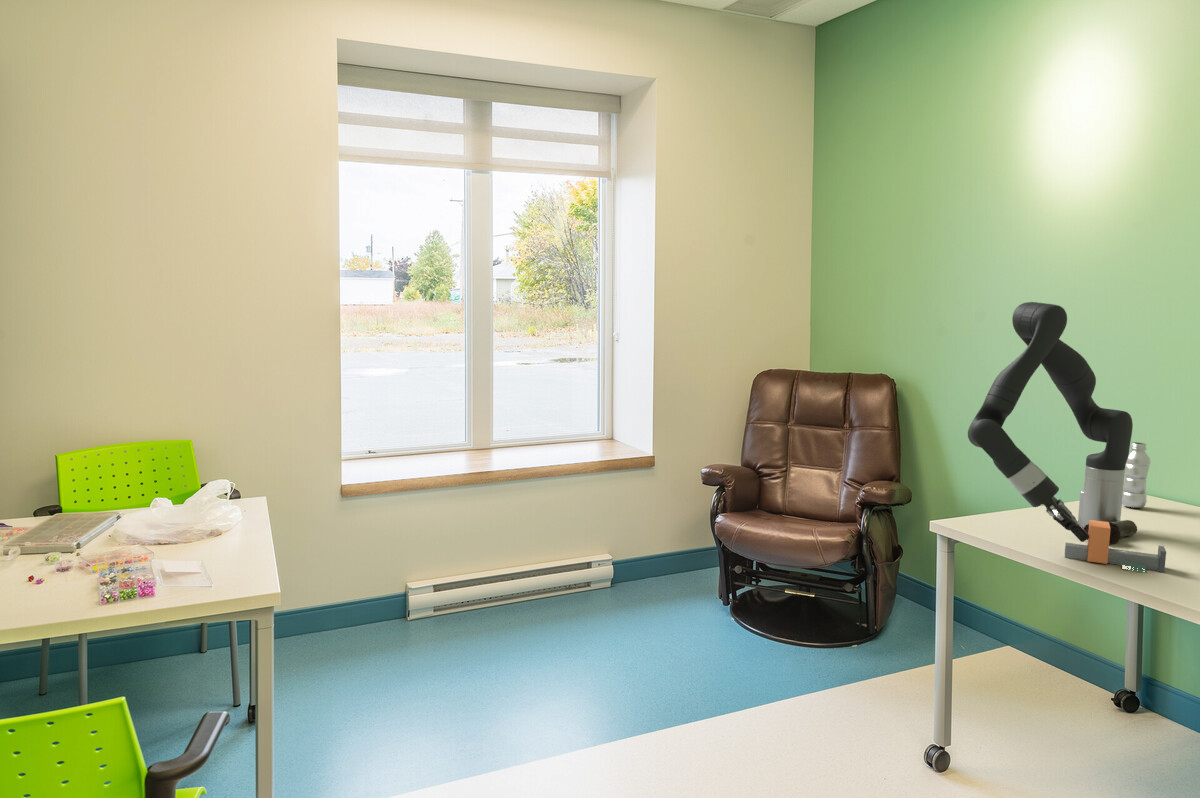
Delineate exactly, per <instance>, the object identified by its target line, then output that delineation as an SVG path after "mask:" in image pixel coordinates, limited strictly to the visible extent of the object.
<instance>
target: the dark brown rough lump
mask: <svg viewBox="0 0 1200 798" xmlns="http://www.w3.org/2000/svg"><path fill="white" fill-rule="evenodd" d="M1109 525H1110V528H1111V529H1110V541H1109V545H1113V544H1117V543H1119V542H1120V540H1121V537H1130V536H1134V535H1135V534H1136V533H1137V531H1138V527H1137V524H1136V523H1135V522H1134V521H1133V520H1130V519H1125V520H1120V521H1116V522H1109ZM1082 528H1083V527H1082ZM1083 529H1084V530H1085V531H1086V532H1087V534H1088V532H1089V524H1088V525H1085V527H1084V528H1083ZM1086 541H1088V539H1087V540H1086Z"/></svg>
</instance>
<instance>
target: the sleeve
mask: <svg viewBox="0 0 1200 798" xmlns="http://www.w3.org/2000/svg"><path fill="white" fill-rule="evenodd" d="M1110 529H1111V528H1110V525H1109V522H1103V521H1095V520H1090V521H1089V532H1088V535H1089V539H1088V540H1087V544H1086V545H1088V547H1089V548H1088V561H1087V562H1089V563H1090V562H1091V563H1098V564H1105V565H1108V564H1107V563H1108V552H1109V548H1110V544H1109V541H1110Z"/></svg>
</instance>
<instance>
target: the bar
mask: <svg viewBox="0 0 1200 798" xmlns="http://www.w3.org/2000/svg"><path fill="white" fill-rule="evenodd" d="M1157 546H1158V548H1157V549H1158V550H1157V554H1155V553H1146V552H1138V551H1132V550H1124V549H1117V548H1110V547H1109V552H1108V563H1110V564H1109V565H1114V564H1117V566H1120V565H1125V566H1131V569H1130V570H1131V572H1135V571H1137V570H1138V572H1137V573H1142V572H1143V571H1145V573H1144V574H1148V571H1147V570H1150V569H1152V571H1157V570H1159V571H1158V572H1159V573H1163V572H1164V573H1165V568H1166V559H1167V557H1166V556H1167V550H1166V548H1165V545H1157ZM1088 548H1089V547H1088V545H1087V544H1081V543H1080V544H1079V543H1073V542H1065V546H1064V558H1067V559H1071V560H1072V559H1074V560H1080V561H1086V560H1087V562H1089V561H1088ZM1133 567H1134V568H1133ZM1127 568H1128V567H1127ZM1132 568H1133V569H1134V570H1133V569H1132ZM1137 568H1138V569H1137ZM1142 568H1143V569H1145V570H1143V569H1142ZM1128 569H1129V568H1128ZM1128 569H1127V570H1126V571H1128ZM1132 570H1133V571H1132ZM1140 571H1141V572H1140Z"/></svg>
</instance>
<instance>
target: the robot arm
mask: <svg viewBox="0 0 1200 798" xmlns="http://www.w3.org/2000/svg"><path fill="white" fill-rule="evenodd" d="M1011 319H1012V326H1013V329H1014V331H1015V333H1016V334H1017V335H1018V337H1019V338H1020V340H1022V341H1023V342H1024V344H1025V345H1026V348H1025V349H1024V350H1023V352H1022V353H1021V354H1019V356H1018V357H1016V358H1015V359H1014V360H1013V361H1012V362H1011V363H1009V364H1008V365H1007V366H1006V367H1004V369H1002V370H1001V371H1000V372H999V373H998V375H997V376H996V377H995V379H994V380H993V382H992V384H991V386H990V387H989V390H988V392H987V393H986V394H987V395H986V396H985V399H984V401H983V403H982V405H981V406H980V408H979V410H978V412H977V413H976V415H975V416H974V417H973V419H972V420H971V421H972V422H971V423H970V425H969V427H968V429H967V438H968V440H969V442H970V443H971V444H972V446H975V447H977V448H981V449H982V450H983V451H984V452H985V453H986V454H987V455H988V456H989V457H990V459H992V462H993V465H994V466H995V467H996V468H997V469H998V470H999V472H1001V473H1002V474H1003V476H1004V477H1005V478H1006V479H1007V480H1008V481H1009V483H1010V484H1011V486H1013V488H1014V489H1015V490H1016V491H1017V492H1018V493H1019V494H1020V495H1021V497H1023V498H1024V499H1025V501H1027V503H1028V504H1029V505H1031V506H1032V507H1033V508H1038V507H1040V506H1041V505H1043V506H1044V507H1045V509H1046V511H1045V512H1046V513H1047V514H1048V515H1049V516H1050V517H1052V519H1053V520H1054V521H1055V522H1057V523H1058V524H1059V525H1060V526H1062V527H1063V528H1064V529H1065V530H1067V531H1069V532H1071V533H1072V534H1073V535H1074V536H1075V537H1076V538H1077V539H1078V540H1079V541H1080V542H1081V543H1084V542H1086V541H1088V540H1087V539H1089V535H1088V534H1087V532H1086V531H1085V530H1084V529H1083V528H1084V527H1085V525H1088V524H1089V521H1090V520H1095V521H1103V522H1116V521H1121V517H1122V508H1123V505H1122V498H1123V488H1124V483H1125V465H1126V462H1127V459H1128V456H1129V453H1130V449H1131V443H1132V440H1131V439H1132V435H1133V426H1134V425H1133V418H1132V416H1131V414H1130V413H1129V412H1128V411H1124V410H1120V409H1119V410H1118V409H1112V408H1103V407H1101V406H1099V405H1097V403H1096V402H1095V400H1094V399H1093V397H1092V396H1093V394H1094V391H1095V389H1096V384H1097V378H1096V375H1095V372H1094V371H1093V369H1092V368H1091V366H1090V365H1089V363H1088V361H1087V360H1086V359H1085V358H1084V356H1082V355H1081V353H1080V352H1078V351H1077V350H1075V349H1074V348H1072V347H1071V346H1070V345H1068V344H1067V343H1065V342H1064V341H1062V340H1061V339H1060V338H1061V336H1062V335H1063V334H1064V331H1065V329H1066V327H1067V324H1068V315H1067V311H1066V309H1065V308H1064V307H1062V306H1061V305H1059V304H1054V303H1043V302H1036V301H1028V302H1023V303H1021V304H1018V306H1017V307H1015V309H1014V311H1013V313H1012V317H1011ZM1041 365H1042V367H1043V368H1044V369H1045V371H1046V373H1047V374H1048V376H1049V377H1050V380H1052V382H1053V384H1054V385H1055V387H1056V388H1057V390H1058V391H1059V392H1060V393H1061V395H1062V397H1063V398H1064V400H1065V402H1066V403H1067V404H1068V406H1069V408H1070V410H1071V411H1072V414H1073V415H1074V418H1075V419H1076V421H1077V424H1078V426H1079V428H1080V430H1081V432H1082V433H1083V435H1084V436H1085V437H1086V438H1087V439H1089V440H1090V441H1091V440H1092V441H1095V442H1100V443H1106V444H1105V448H1104V450H1103V451H1101V452H1096V453H1091V454H1090V453H1089V454H1088V455H1087V456H1086V458H1085V467H1084V468H1085V469H1084V481H1083V490H1081V491H1080V492H1079V493H1080V494H1079V506H1078V517H1077V518H1076V517H1075V516H1074V515H1073V512H1072V511H1071V510H1070V509H1069V508H1068V507H1067V506H1066V504H1065V503H1064V501H1063V500H1062V499H1060V498H1059V499H1057V498H1056V497H1055V496H1056V495H1057V494H1058V493H1059V489H1060V487H1058V485H1057V484H1055V482H1054V481H1053V480H1052V479H1051V478H1050V477H1049V476H1048V475H1047V474H1046V473H1045V472H1044V471H1043V470H1042V469H1041V468H1040V467H1039V466H1038V465H1037V464H1035V463H1034V462H1033V461H1032V460H1031V459H1030V458H1029V457H1028V456H1027V455H1026V454H1025V453H1024V452H1023V451H1022V450H1021V449H1020V448H1019V447H1018V446H1017V445H1016V444H1015V443H1014V441H1013V440H1012V438H1011V437H1010V436H1009V435H1008V433H1007V432H1006V430H1004V428H1003V426H1004V423H1005V422H1006V419H1007V418H1008V417H1009V416H1010V415H1011V414H1012V413H1013V411H1014V409H1015V407H1016V405H1017V403H1018V401H1019V400H1020V397H1021V395H1022V394H1023V391H1024V389H1025V388H1026V386H1027V384H1028V383H1029V381H1030V380H1031V378H1032V376H1033V375H1034V374H1035V372H1036V371H1037V370H1038V368H1039V367H1040V366H1041Z"/></svg>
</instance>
